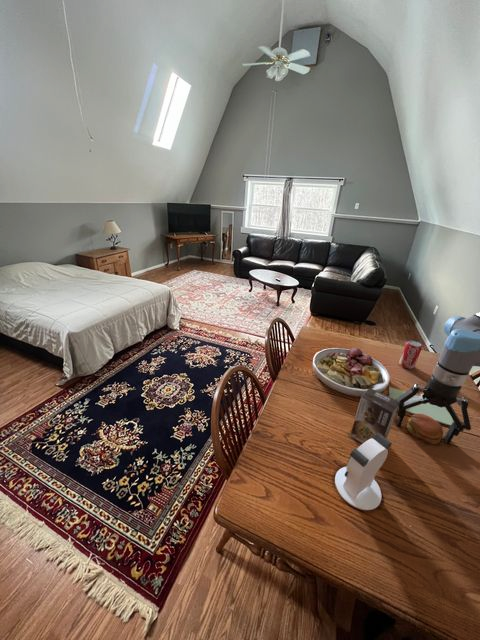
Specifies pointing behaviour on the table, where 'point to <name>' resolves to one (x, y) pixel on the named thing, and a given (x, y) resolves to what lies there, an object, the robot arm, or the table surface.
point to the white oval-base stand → (363, 474)
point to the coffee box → (374, 415)
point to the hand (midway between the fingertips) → (421, 431)
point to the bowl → (350, 371)
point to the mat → (425, 408)
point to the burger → (425, 428)
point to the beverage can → (410, 354)
